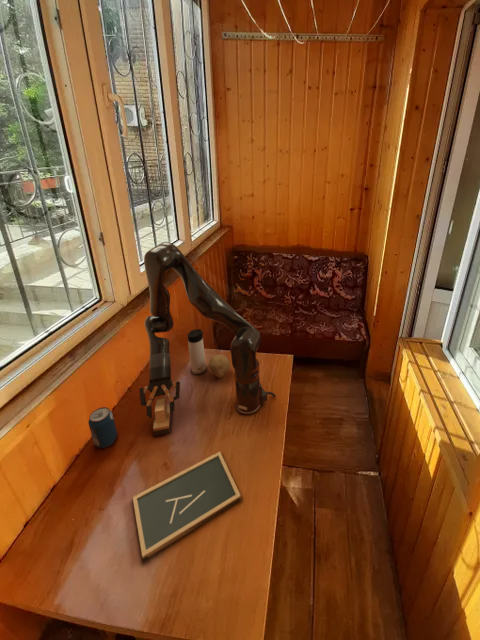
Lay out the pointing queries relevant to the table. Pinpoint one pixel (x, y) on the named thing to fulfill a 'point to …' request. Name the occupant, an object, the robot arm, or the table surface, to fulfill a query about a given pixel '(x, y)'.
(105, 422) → the soda can
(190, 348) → the travel mug
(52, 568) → the table surface
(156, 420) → the eraser
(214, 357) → the natural sponge
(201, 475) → the chalkboard
